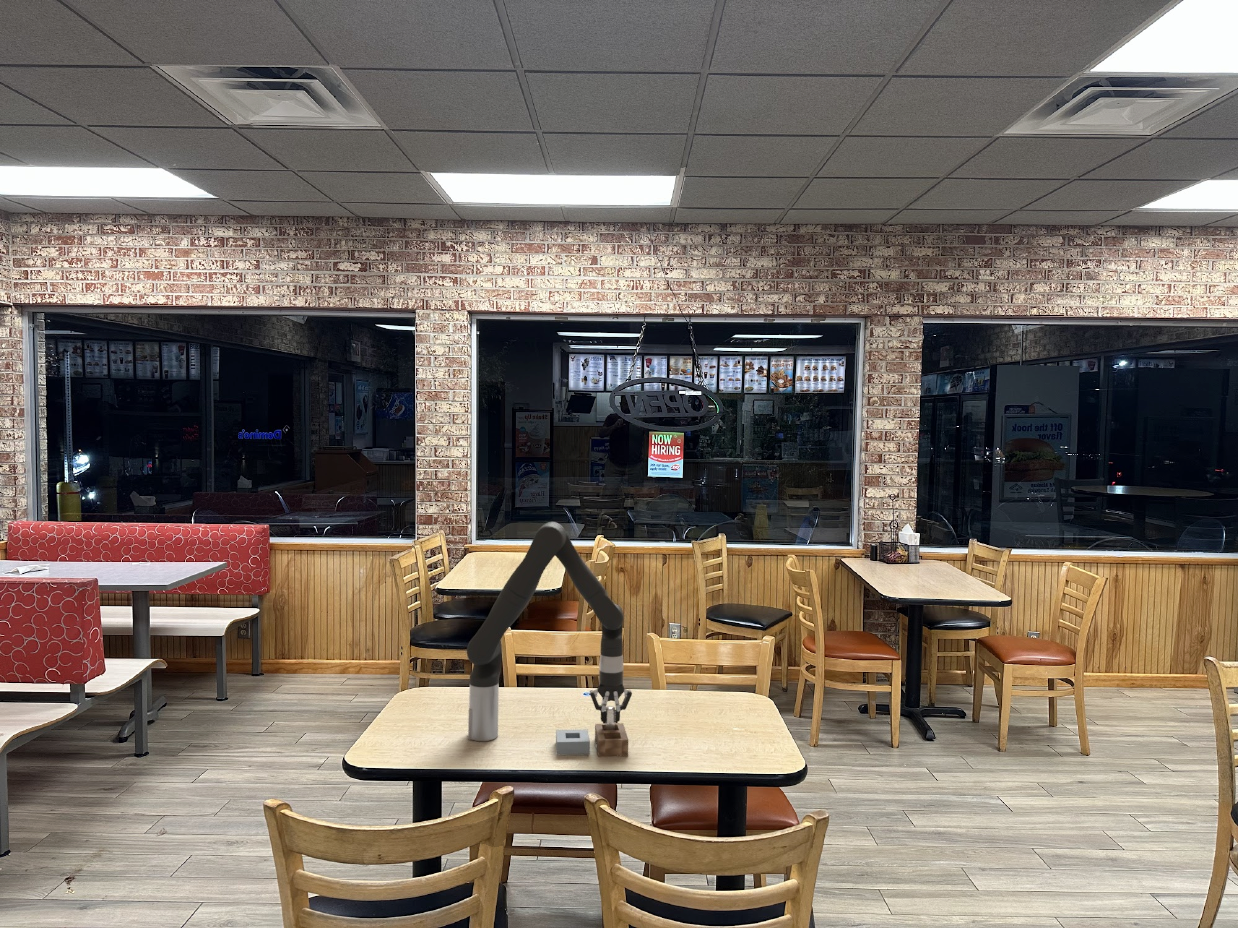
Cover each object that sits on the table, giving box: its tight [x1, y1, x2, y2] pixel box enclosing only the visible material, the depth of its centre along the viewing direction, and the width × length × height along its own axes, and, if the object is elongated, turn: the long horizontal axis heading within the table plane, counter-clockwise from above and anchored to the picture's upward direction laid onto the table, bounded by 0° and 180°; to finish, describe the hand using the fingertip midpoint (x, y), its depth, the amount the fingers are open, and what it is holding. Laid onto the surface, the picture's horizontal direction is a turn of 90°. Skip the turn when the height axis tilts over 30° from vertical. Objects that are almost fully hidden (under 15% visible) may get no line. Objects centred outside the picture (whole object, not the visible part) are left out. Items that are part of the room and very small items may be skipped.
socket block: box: [555, 728, 591, 756], centre depth 243 cm, size 10×10×4 cm
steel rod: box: [605, 705, 616, 730], centre depth 248 cm, size 3×3×10 cm
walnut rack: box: [594, 722, 629, 758], centre depth 244 cm, size 9×14×5 cm, turn 6°
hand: (610, 722), depth 248 cm, fingers open, 3 cm apart
